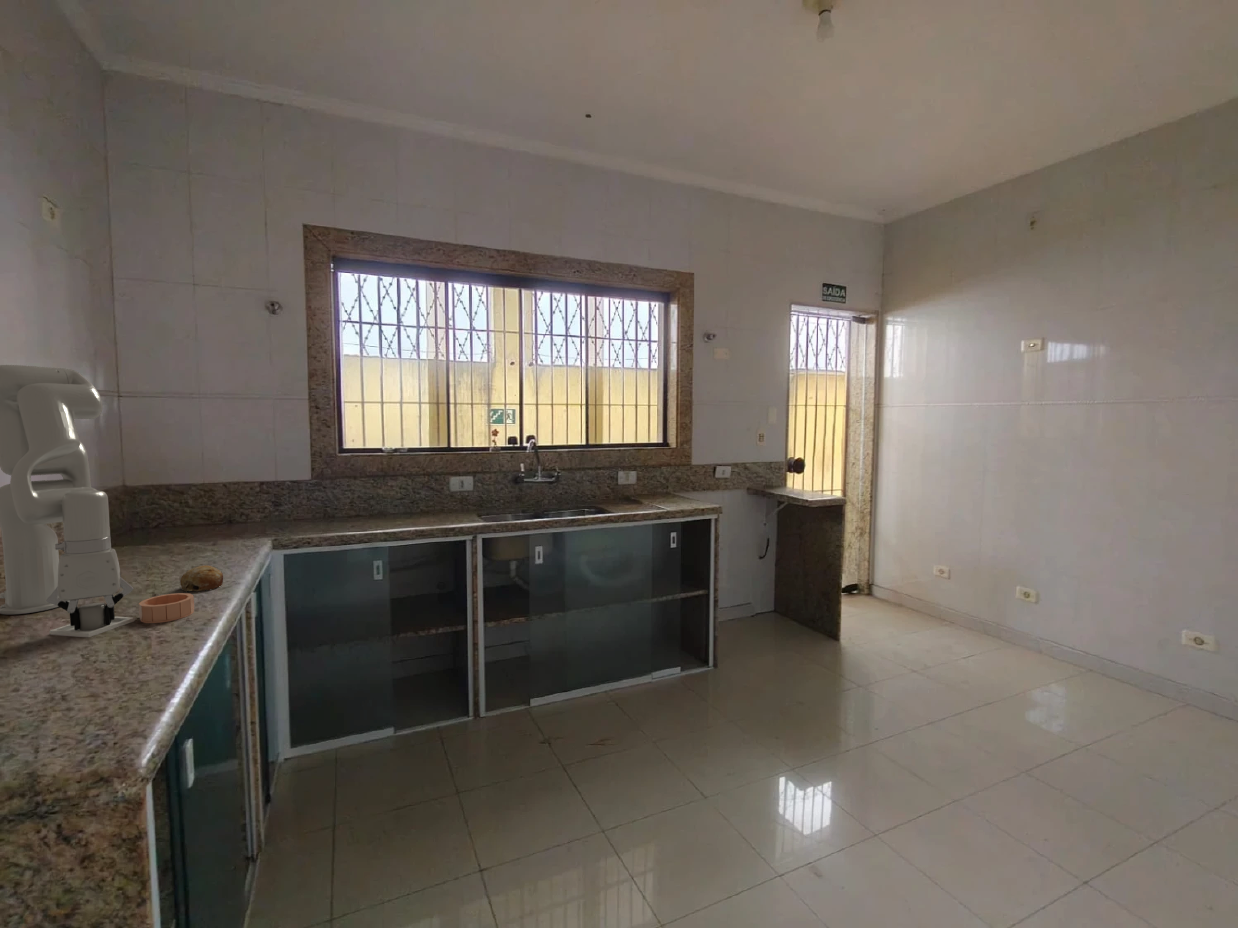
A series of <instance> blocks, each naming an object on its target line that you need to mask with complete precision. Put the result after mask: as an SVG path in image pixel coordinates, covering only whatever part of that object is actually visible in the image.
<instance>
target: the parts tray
mask: <svg viewBox="0 0 1238 928" xmlns="http://www.w3.org/2000/svg"><path fill="white" fill-rule="evenodd" d="M135 621H136V620H135V617H133V616H132V617H129V616H116V615H115V619H114V620H111V623H110V625H107V626H105V627H102V628H99V629H97V630H92V631H80V629H78V630H75V629H74V626H71V625H70V623H69V624H66V625H63V626H60V627H59V626H58V627H56V628H53V629H51V630H49V635H50V636H65V637H79V638H91V637H94V636H97V635H100V634H103V633H106V632H108V631H111V630H114V629H117V628H121V627H123V626H125V625H128V624H131V623H134V622H135Z"/></svg>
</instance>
